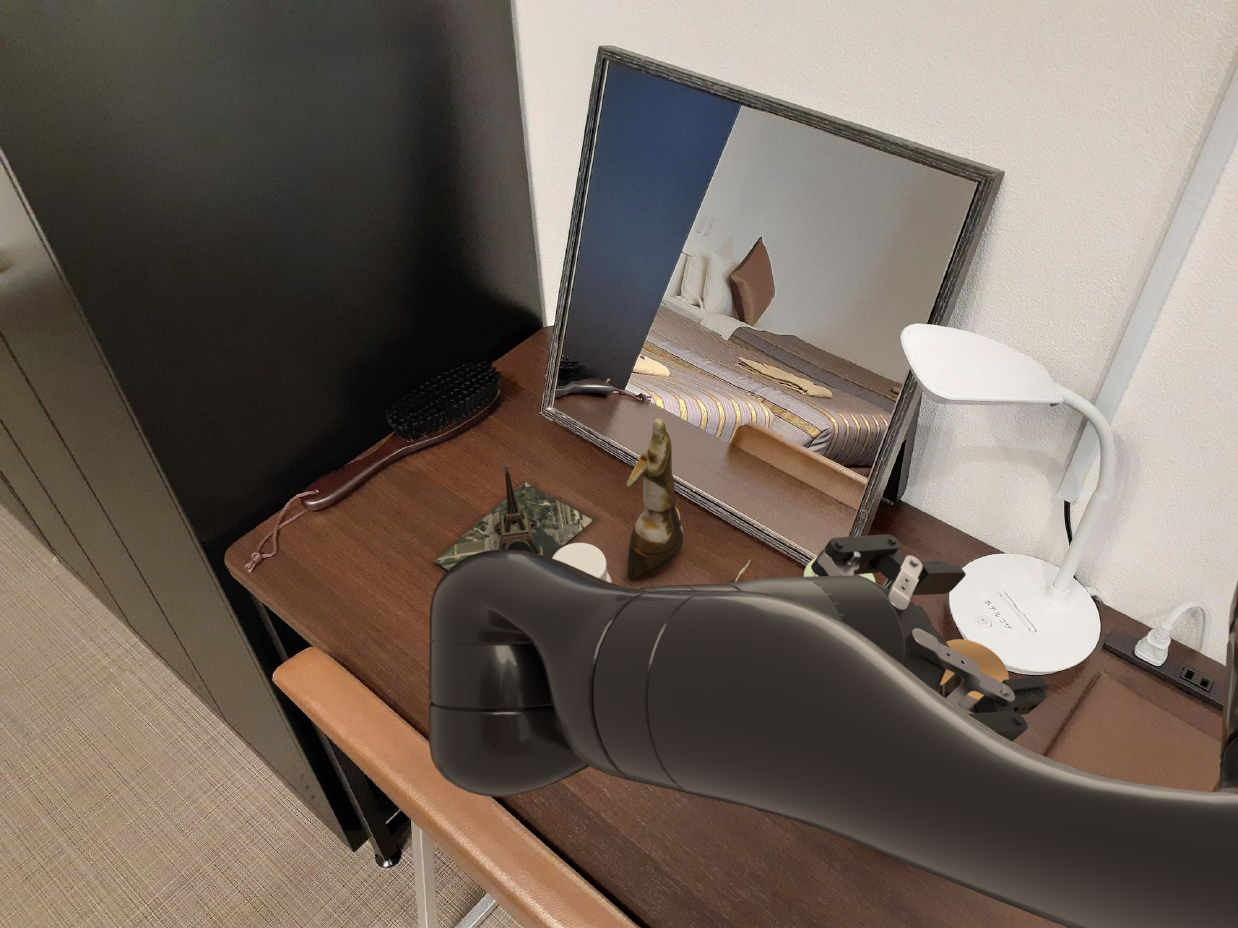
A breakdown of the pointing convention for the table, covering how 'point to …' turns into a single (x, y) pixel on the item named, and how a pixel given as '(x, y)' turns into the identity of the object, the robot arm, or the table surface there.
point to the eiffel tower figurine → (519, 526)
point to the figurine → (655, 508)
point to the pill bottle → (584, 559)
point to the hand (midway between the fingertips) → (994, 631)
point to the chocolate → (745, 574)
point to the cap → (978, 661)
